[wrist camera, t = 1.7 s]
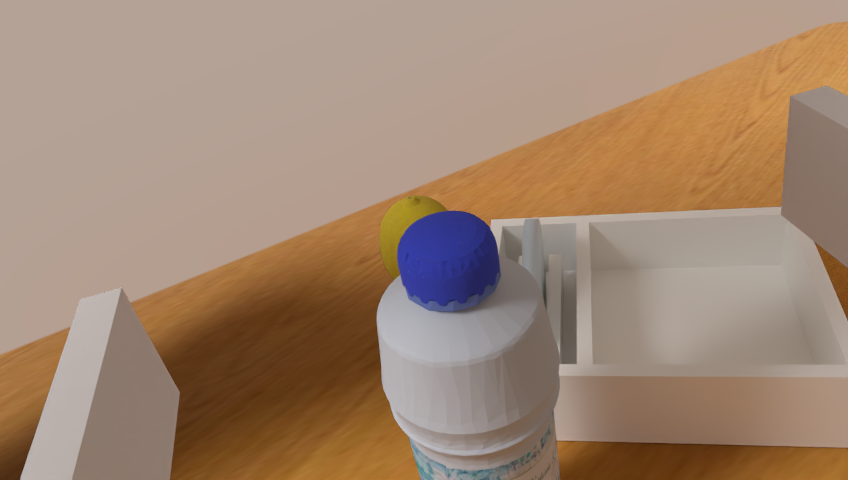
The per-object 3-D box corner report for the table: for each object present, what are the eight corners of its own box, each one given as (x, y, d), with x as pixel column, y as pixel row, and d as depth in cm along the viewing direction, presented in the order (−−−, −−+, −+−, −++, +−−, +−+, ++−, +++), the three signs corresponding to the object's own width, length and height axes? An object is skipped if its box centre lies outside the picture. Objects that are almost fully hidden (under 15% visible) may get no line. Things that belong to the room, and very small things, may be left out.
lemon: (428, 256, 56) (409, 167, 51) (483, 281, 52) (468, 188, 47) (376, 297, 53) (351, 206, 48) (431, 326, 49) (410, 232, 45)
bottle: (549, 653, 31) (498, 312, 20) (414, 595, 35) (302, 270, 23) (594, 521, 36) (575, 181, 24) (472, 481, 39) (402, 160, 27)
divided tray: (480, 438, 41) (456, 319, 36) (499, 278, 52) (484, 169, 47) (852, 447, 37) (889, 313, 31) (788, 271, 48) (807, 149, 42)
